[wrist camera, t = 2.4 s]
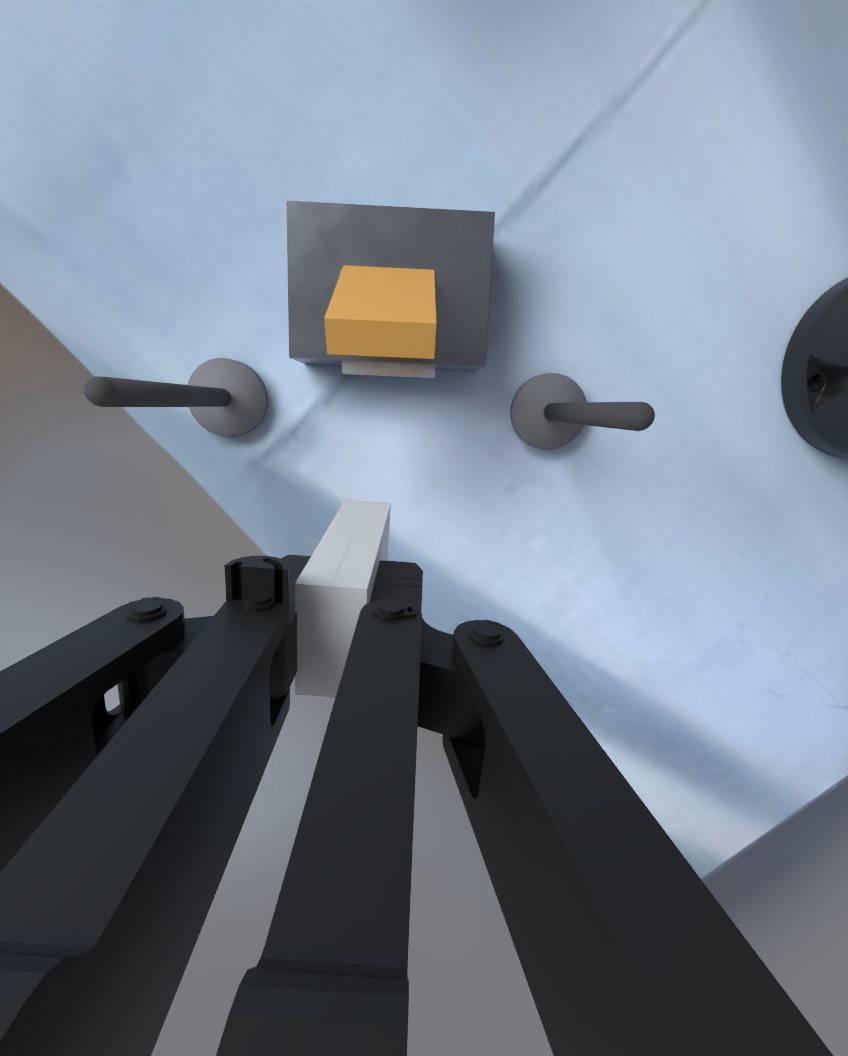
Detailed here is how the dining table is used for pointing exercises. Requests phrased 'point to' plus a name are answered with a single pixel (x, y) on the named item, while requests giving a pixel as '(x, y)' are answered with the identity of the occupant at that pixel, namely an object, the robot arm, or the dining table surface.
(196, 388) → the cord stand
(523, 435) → the stand
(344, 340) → the orange rectangular prism
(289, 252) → the block
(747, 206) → the dining table surface
